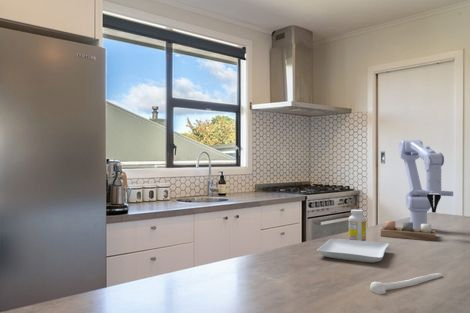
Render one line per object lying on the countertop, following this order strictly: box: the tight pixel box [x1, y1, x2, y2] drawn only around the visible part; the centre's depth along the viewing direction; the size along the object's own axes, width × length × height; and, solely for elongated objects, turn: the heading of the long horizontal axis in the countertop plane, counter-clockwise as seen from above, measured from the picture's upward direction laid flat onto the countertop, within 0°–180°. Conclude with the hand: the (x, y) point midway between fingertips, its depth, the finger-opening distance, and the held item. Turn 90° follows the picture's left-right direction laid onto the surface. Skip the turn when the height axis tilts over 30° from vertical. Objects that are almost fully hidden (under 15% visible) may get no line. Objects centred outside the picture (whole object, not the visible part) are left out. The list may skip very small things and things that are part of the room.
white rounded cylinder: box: [421, 223, 432, 233], centre depth 161 cm, size 4×4×4 cm
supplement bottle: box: [348, 209, 367, 241], centre depth 152 cm, size 7×7×13 cm
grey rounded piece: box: [402, 221, 413, 231], centre depth 164 cm, size 4×4×4 cm
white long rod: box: [369, 272, 443, 295], centre depth 103 cm, size 28×4×3 cm, turn 120°
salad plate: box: [316, 238, 390, 264], centre depth 133 cm, size 21×21×3 cm
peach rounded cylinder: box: [385, 220, 396, 230], centre depth 167 cm, size 4×4×4 cm
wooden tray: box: [380, 225, 437, 242], centre depth 164 cm, size 11×21×2 cm, turn 64°
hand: (433, 212), depth 163 cm, fingers closed
